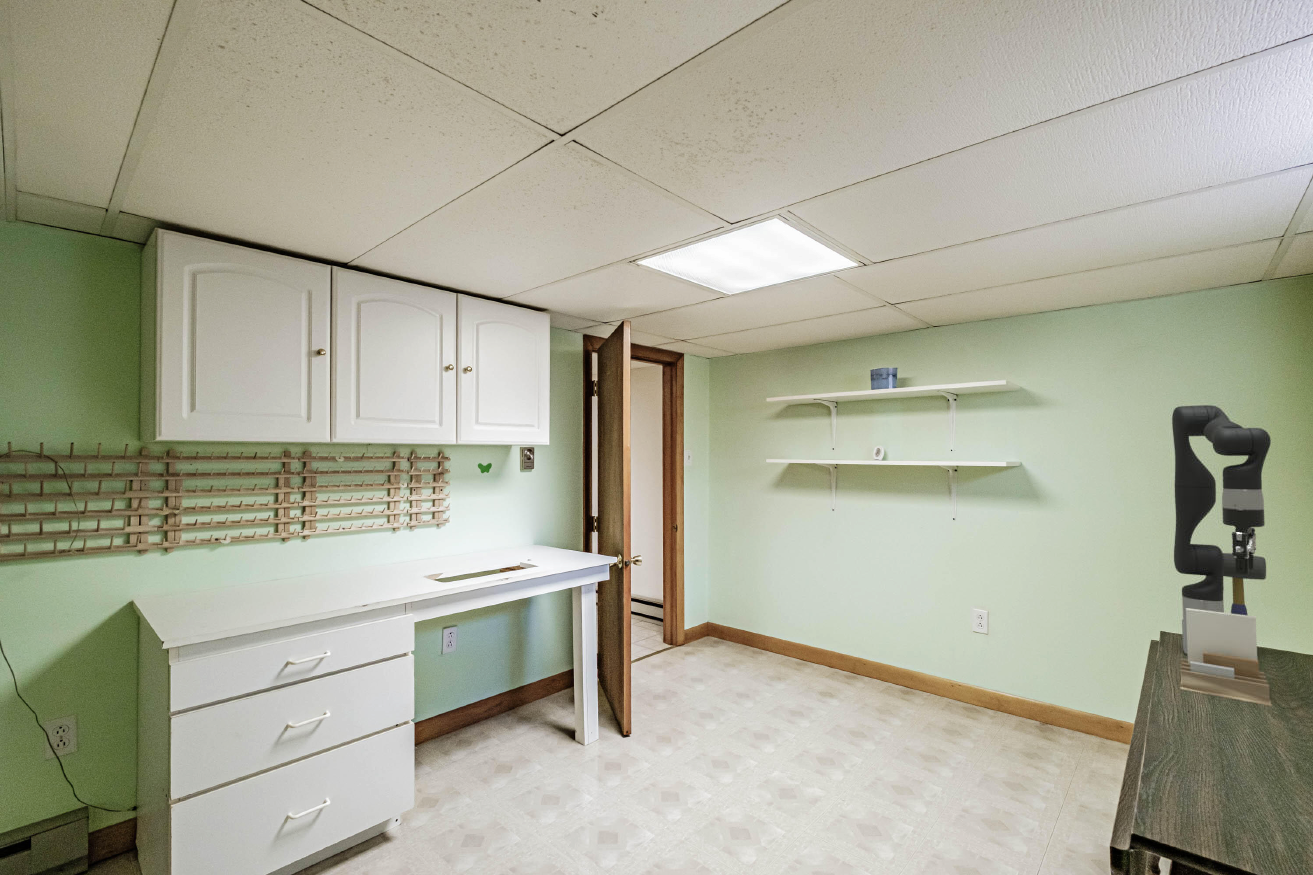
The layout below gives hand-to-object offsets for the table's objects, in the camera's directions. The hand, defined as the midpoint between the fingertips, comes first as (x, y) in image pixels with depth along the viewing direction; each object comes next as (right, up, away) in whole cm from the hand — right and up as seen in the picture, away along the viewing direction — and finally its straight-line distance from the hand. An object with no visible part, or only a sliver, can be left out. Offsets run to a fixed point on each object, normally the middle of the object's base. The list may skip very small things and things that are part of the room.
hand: (1245, 571), depth 149 cm
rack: (-5, -31, 0) cm, 31 cm away
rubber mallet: (+30, -32, +32) cm, 54 cm away
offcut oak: (-4, -30, -1) cm, 30 cm away
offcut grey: (-9, -30, -1) cm, 31 cm away
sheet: (-3, -30, +3) cm, 30 cm away
